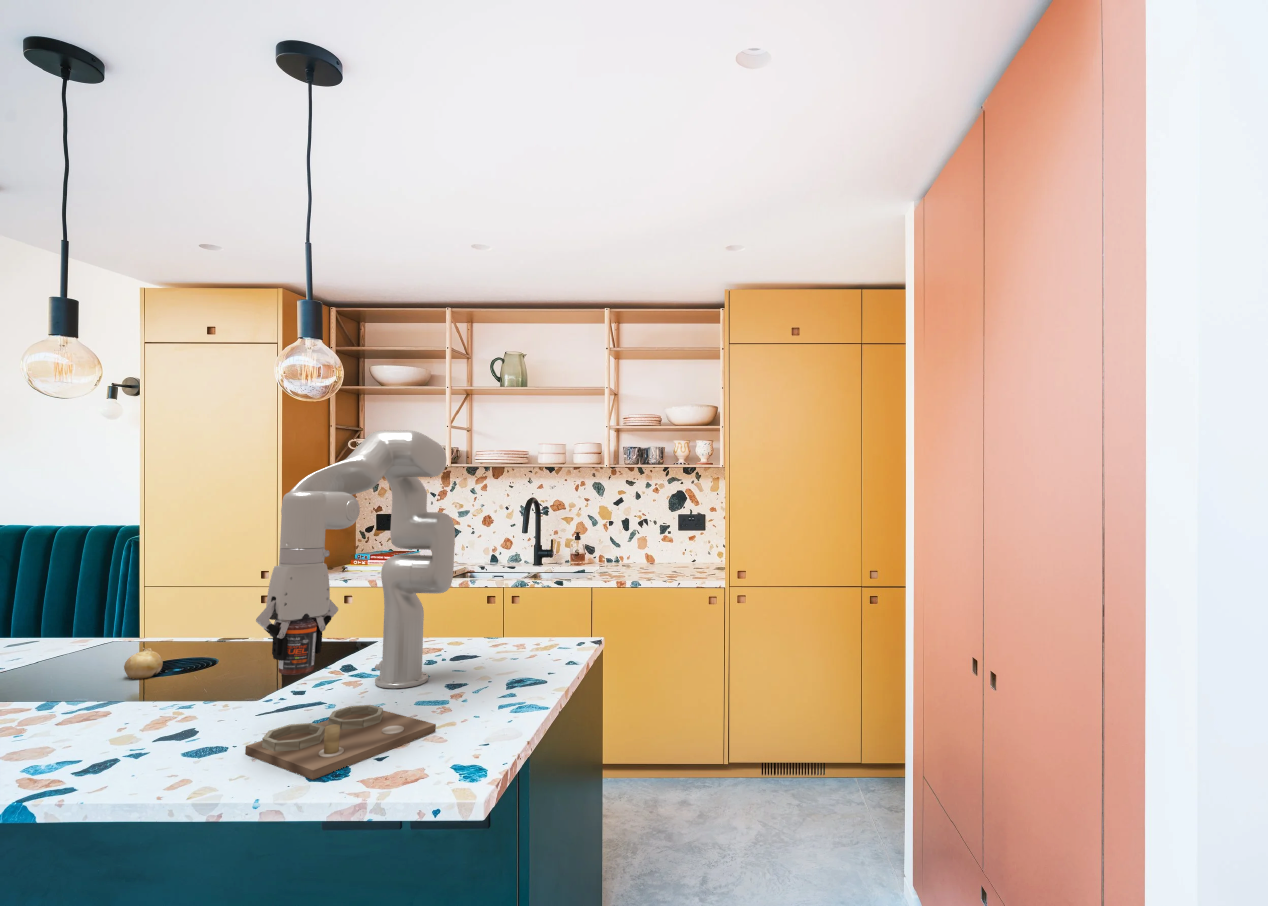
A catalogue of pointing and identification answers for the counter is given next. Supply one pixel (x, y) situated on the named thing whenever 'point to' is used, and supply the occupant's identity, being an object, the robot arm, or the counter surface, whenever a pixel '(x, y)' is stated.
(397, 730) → the board
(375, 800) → the counter surface
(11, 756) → the counter surface
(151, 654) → the onion
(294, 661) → the supplement bottle
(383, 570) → the robot arm
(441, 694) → the counter surface
